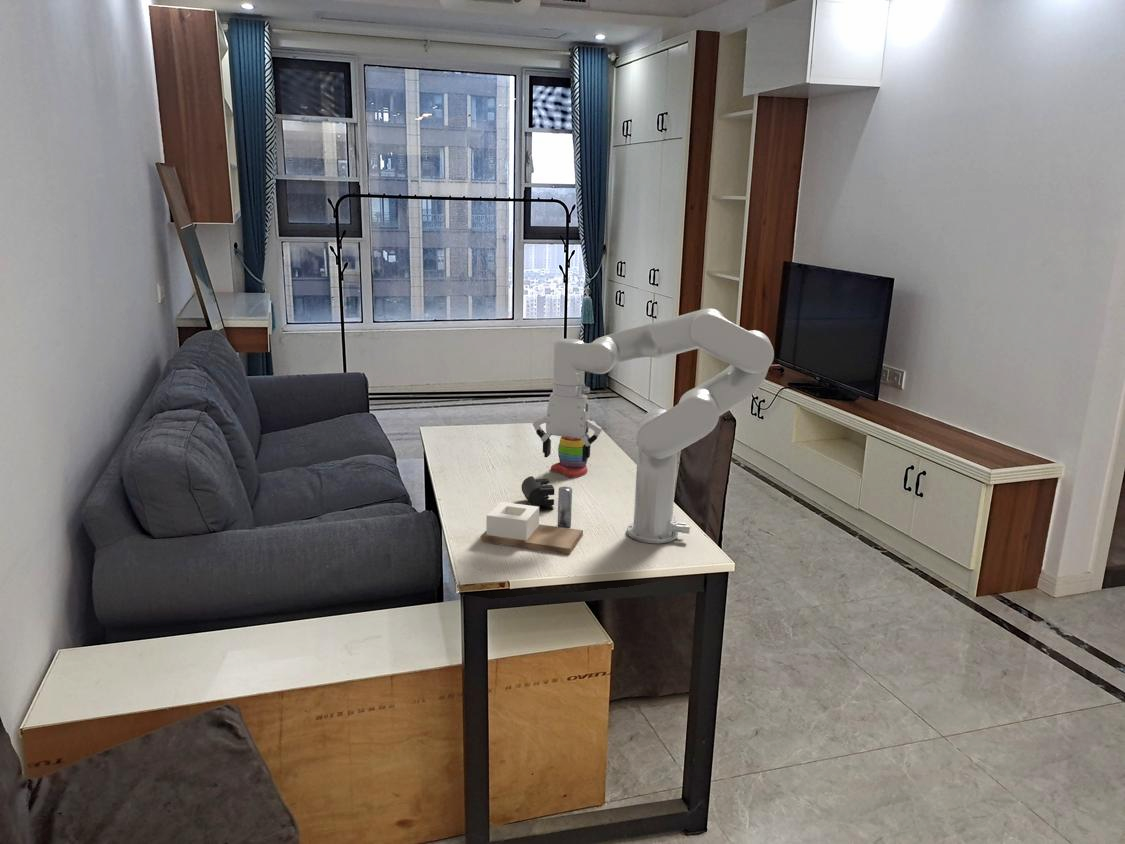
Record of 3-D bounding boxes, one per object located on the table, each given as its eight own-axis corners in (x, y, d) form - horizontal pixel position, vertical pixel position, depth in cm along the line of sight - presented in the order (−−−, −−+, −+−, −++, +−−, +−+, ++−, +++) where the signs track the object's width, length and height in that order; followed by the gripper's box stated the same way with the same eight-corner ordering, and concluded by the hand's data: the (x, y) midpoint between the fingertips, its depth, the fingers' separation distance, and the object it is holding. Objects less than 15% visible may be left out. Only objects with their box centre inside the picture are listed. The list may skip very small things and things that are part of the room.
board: (582, 535, 204) (582, 530, 203) (569, 554, 192) (570, 548, 192) (498, 524, 209) (498, 518, 209) (480, 541, 198) (480, 535, 198)
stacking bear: (547, 469, 254) (549, 413, 250) (572, 464, 261) (574, 409, 256) (571, 479, 246) (573, 420, 242) (596, 472, 253) (598, 416, 249)
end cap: (520, 499, 228) (521, 476, 226) (546, 498, 229) (546, 475, 228) (527, 512, 218) (528, 488, 217) (554, 511, 220) (555, 486, 218)
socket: (538, 525, 205) (539, 506, 204) (526, 540, 196) (526, 520, 195) (500, 520, 208) (500, 501, 206) (486, 535, 198) (486, 515, 197)
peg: (572, 524, 211) (573, 487, 208) (568, 529, 207) (570, 491, 205) (559, 523, 211) (560, 485, 209) (555, 527, 208) (556, 490, 206)
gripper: (606, 390, 202) (603, 457, 206) (538, 384, 206) (537, 450, 211) (599, 396, 195) (596, 466, 199) (529, 390, 199) (528, 458, 204)
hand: (566, 458), depth 205 cm, fingers open, 9 cm apart
